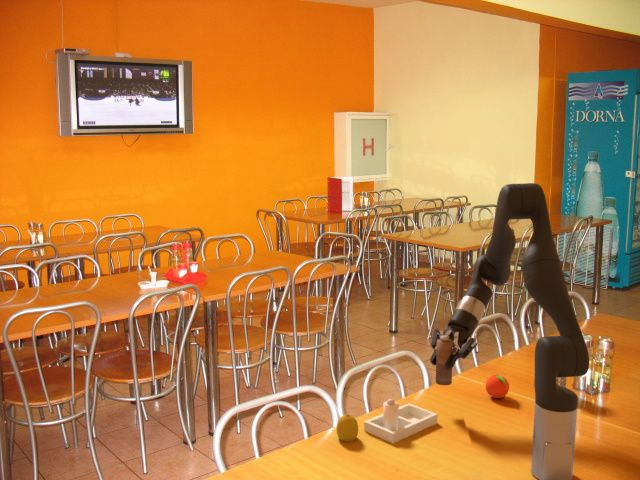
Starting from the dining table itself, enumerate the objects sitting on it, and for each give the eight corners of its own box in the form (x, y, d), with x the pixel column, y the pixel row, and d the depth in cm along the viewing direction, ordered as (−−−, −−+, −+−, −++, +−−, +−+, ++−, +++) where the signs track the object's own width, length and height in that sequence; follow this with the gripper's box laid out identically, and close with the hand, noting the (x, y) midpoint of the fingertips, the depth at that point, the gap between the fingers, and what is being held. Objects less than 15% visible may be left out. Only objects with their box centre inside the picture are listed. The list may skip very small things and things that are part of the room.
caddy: (408, 416, 192) (408, 403, 191) (437, 428, 185) (437, 414, 184) (363, 435, 180) (364, 421, 179) (392, 448, 173) (393, 433, 172)
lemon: (356, 449, 172) (356, 419, 171) (334, 447, 173) (334, 417, 172) (359, 440, 177) (360, 410, 176) (338, 437, 179) (338, 408, 177)
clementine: (515, 401, 203) (516, 378, 202) (496, 404, 201) (497, 381, 200) (499, 391, 211) (500, 369, 210) (480, 394, 208) (481, 372, 207)
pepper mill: (452, 385, 189) (453, 339, 187) (436, 385, 190) (437, 338, 188) (450, 379, 194) (452, 334, 192) (434, 379, 194) (436, 334, 192)
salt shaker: (398, 434, 177) (399, 402, 176) (383, 434, 177) (383, 401, 176) (397, 428, 181) (398, 396, 180) (382, 427, 181) (382, 396, 180)
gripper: (441, 303, 199) (413, 352, 192) (483, 312, 188) (455, 365, 182) (451, 318, 203) (425, 366, 197) (493, 327, 193) (466, 379, 186)
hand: (440, 365), depth 189 cm, fingers closed on pepper mill, 4 cm apart
